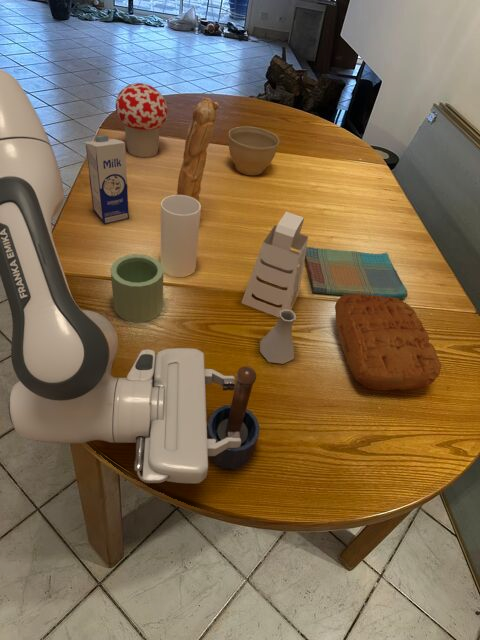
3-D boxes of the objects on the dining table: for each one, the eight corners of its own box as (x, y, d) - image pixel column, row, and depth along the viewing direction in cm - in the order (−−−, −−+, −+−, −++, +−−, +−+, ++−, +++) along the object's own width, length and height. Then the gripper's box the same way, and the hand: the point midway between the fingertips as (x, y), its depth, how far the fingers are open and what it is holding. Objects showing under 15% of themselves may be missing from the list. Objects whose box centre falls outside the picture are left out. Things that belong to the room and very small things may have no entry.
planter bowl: (226, 155, 145) (230, 123, 137) (272, 162, 146) (278, 130, 138) (223, 176, 133) (227, 142, 126) (273, 184, 134) (280, 150, 127)
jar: (127, 328, 82) (124, 292, 75) (106, 298, 87) (101, 261, 80) (171, 312, 87) (172, 277, 80) (148, 284, 92) (148, 249, 85)
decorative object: (118, 139, 142) (114, 73, 128) (165, 142, 145) (166, 78, 131) (117, 160, 131) (113, 90, 117) (168, 163, 134) (169, 96, 121)
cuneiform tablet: (325, 314, 93) (336, 286, 88) (397, 319, 96) (412, 292, 90) (349, 397, 78) (364, 370, 72) (434, 400, 80) (455, 374, 74)
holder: (222, 478, 63) (227, 460, 59) (195, 438, 67) (198, 418, 63) (262, 453, 67) (269, 434, 63) (234, 417, 71) (239, 396, 67)
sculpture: (211, 221, 114) (224, 103, 93) (183, 230, 109) (189, 108, 88) (197, 209, 117) (206, 93, 96) (169, 217, 112) (172, 97, 91)
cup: (202, 263, 100) (207, 203, 89) (184, 281, 94) (188, 219, 83) (172, 251, 102) (174, 190, 91) (153, 268, 96) (153, 206, 85)
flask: (265, 367, 80) (275, 331, 73) (254, 339, 85) (263, 303, 78) (299, 362, 82) (313, 327, 75) (287, 335, 87) (298, 300, 80)
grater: (299, 292, 97) (323, 217, 83) (285, 320, 90) (309, 242, 76) (257, 277, 99) (274, 201, 85) (241, 303, 92) (256, 224, 78)
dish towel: (406, 302, 100) (411, 294, 99) (312, 295, 97) (315, 286, 96) (385, 259, 113) (389, 251, 111) (301, 251, 110) (303, 243, 108)
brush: (225, 464, 64) (243, 391, 51) (208, 439, 67) (221, 364, 54) (250, 448, 67) (273, 375, 53) (233, 426, 69) (251, 350, 56)
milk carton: (103, 224, 105) (95, 145, 92) (92, 211, 109) (83, 133, 95) (129, 218, 109) (125, 141, 95) (118, 206, 113) (113, 130, 99)
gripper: (131, 471, 49) (248, 469, 51) (143, 340, 63) (234, 343, 65) (133, 493, 53) (240, 490, 55) (144, 366, 67) (229, 368, 70)
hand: (237, 409), depth 60 cm, fingers open, 8 cm apart
